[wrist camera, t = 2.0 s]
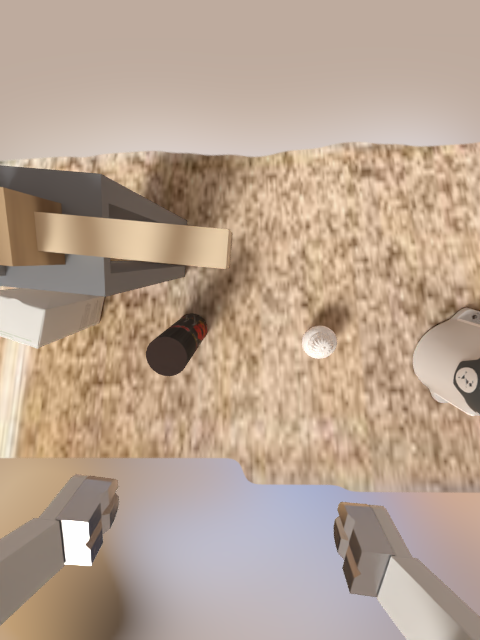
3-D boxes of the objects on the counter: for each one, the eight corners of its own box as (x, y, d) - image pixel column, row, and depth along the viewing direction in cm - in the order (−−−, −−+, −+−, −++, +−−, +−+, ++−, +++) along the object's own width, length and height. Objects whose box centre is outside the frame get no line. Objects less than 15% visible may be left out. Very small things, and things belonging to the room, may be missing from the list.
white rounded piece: (293, 343, 50) (299, 356, 43) (308, 315, 48) (316, 325, 42) (321, 356, 50) (331, 371, 43) (337, 329, 49) (350, 341, 42)
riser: (186, 220, 46) (84, 164, 18) (184, 276, 48) (91, 300, 21) (132, 215, 46) (-46, 154, 19) (133, 271, 48) (-25, 288, 21)
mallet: (233, 218, 21) (226, 206, 16) (228, 280, 22) (220, 287, 17) (-2, 198, 21) (-78, 180, 17) (5, 258, 23) (-63, 258, 18)
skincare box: (61, 310, 51) (-20, 332, 36) (67, 279, 50) (-16, 288, 35) (101, 324, 51) (36, 351, 36) (107, 293, 50) (43, 309, 35)
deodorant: (180, 310, 50) (148, 332, 35) (209, 317, 50) (190, 341, 35) (175, 339, 51) (143, 371, 37) (204, 345, 51) (184, 379, 37)
